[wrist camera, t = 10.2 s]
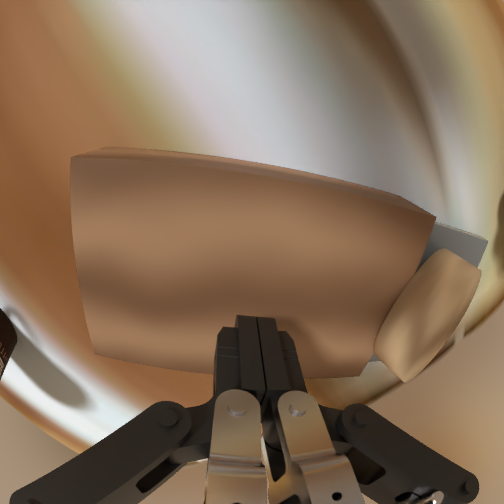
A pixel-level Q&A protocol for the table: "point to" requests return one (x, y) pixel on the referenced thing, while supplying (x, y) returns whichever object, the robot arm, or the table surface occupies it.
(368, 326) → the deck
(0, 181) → the table surface
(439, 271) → the tan domed disc
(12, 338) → the coffee mug
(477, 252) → the slate board
